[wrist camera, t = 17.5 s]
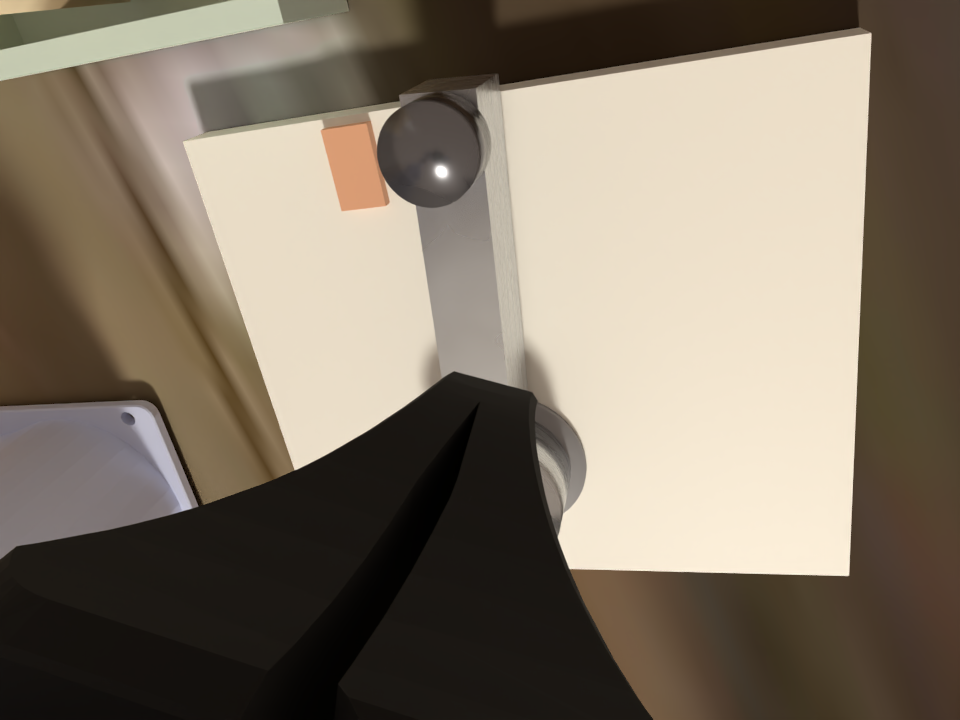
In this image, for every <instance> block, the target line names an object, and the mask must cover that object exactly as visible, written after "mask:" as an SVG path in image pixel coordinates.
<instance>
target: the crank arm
mask: <svg viewBox="0 0 960 720" xmlns="http://www.w3.org/2000/svg"><path fill="white" fill-rule="evenodd" d="M399 99H400V105H401V108H399V109H398V110H396V111H395V112H394V113H393V114H392V115H391V116H390V117H389V118H388V119H387V120H386V122H385V123H384V125H383V127H382V129H381V131H380V134H379V137H378V142H377V159H378V164H379V167H380V170H381V173H382V175H383V177H384V179H385V181H386V182H387V184H388V185H389V186H390V188H391V189H392V190H393V191H394V192H395V193H396V194H397V195H398V196H400V197H401V198H402V199H404V200H406V201H407V202H409V203H411V204H414V205H416V211H417V218H418V224H419V231H420V237H421V244H422V251H423V257H424V264H425V270H426V277H427V284H428V290H429V297H430V303H431V310H432V317H433V323H434V330H435V336H436V343H437V350H438V356H439V363H440V370H441V376H442V378H443V377H445V376H446V375H448V374H450V373H452V372H453V371H455V372H459V373H463V374H467V375H470V376H474V377H478V378H482V379H485V380H489V381H493V382H497V383H500V384H504V385H508V386H512V387H515V388H519V389H523V390H527V391H528V383H527V373H526V362H525V351H524V341H523V330H522V319H521V309H520V298H519V288H518V277H517V266H516V256H515V245H514V235H513V224H512V213H511V203H510V192H509V181H508V171H507V160H506V150H505V139H504V128H503V118H502V107H501V97H500V86H499V75H498V73H495V74H483V75H472V76H461V77H450V78H438V79H429V80H427V81H425V82H423V83H421V84H419V85H417V86H415V87H413V88H411V89H409V90H407V91H405V92H404V93H402V94H400V95H399ZM535 434H536V446H537V453H538V460H539V465H540V471H541V476H542V482H543V486H544V491H545V495H546V499H547V503H548V506H549V510H550V514H551V517H552V521H553V524H554V527H555V531H556V534H557V537H558V535H559V532H560V527H561V522H562V517H563V513H564V508H565V503H566V499H567V494H568V489H569V485H570V479H571V466H570V461H569V458H568V455H567V453H566V451H565V448H564V447H563V445H562V444H561V442H560V441H559V440H558V439H557V437H556V436H555V435H554V434H553V433H552V432H550V431H549V430H548V429H547V428H545V427H544V426H543V425H541V424H539V423H538V422H536V421H535Z"/></svg>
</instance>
